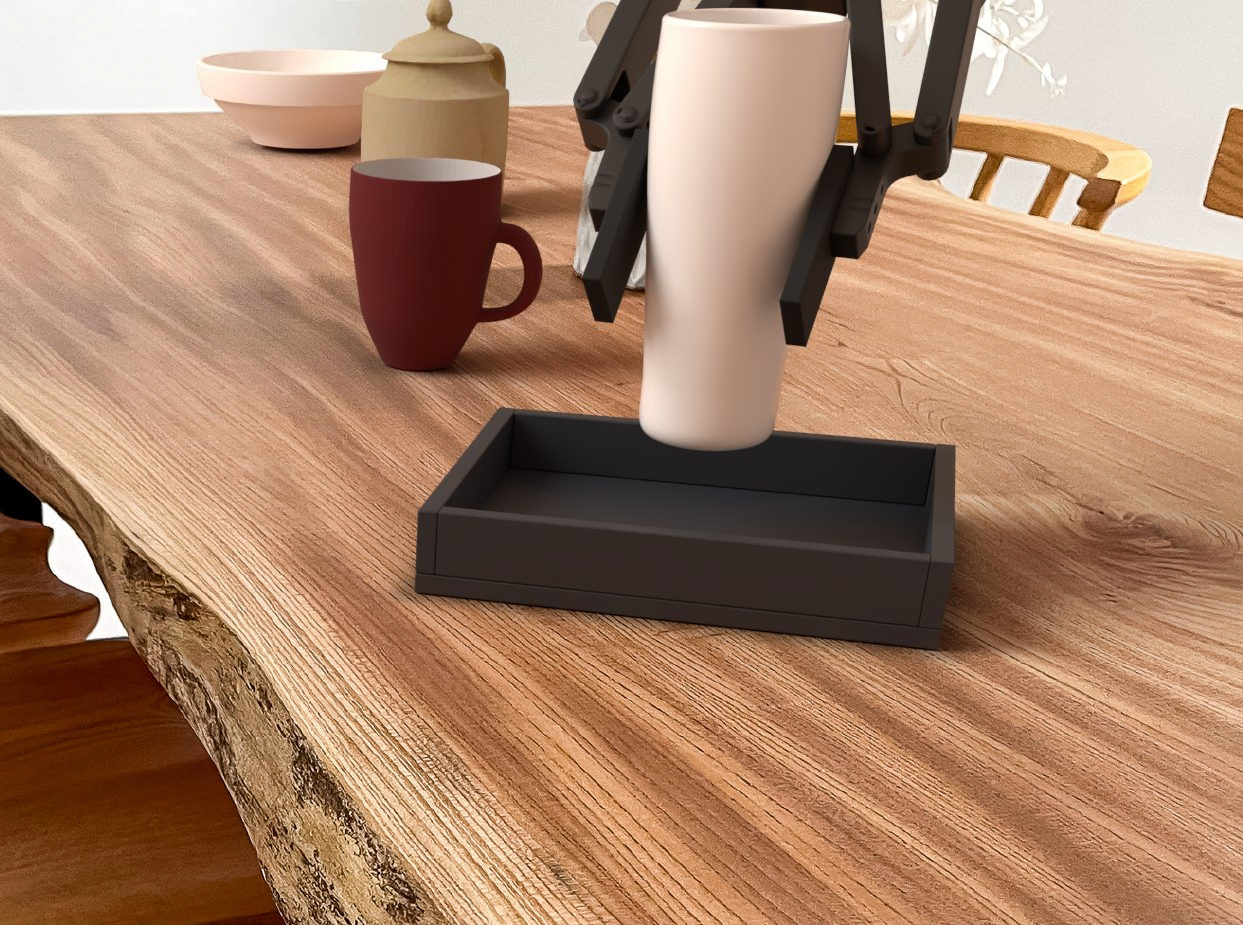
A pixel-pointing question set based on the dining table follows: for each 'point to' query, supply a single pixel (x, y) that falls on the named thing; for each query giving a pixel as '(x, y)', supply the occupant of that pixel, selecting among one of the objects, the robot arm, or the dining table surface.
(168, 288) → the dining table surface
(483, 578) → the tray
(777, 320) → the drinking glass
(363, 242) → the mug
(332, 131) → the bowl
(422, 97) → the sugar bowl
